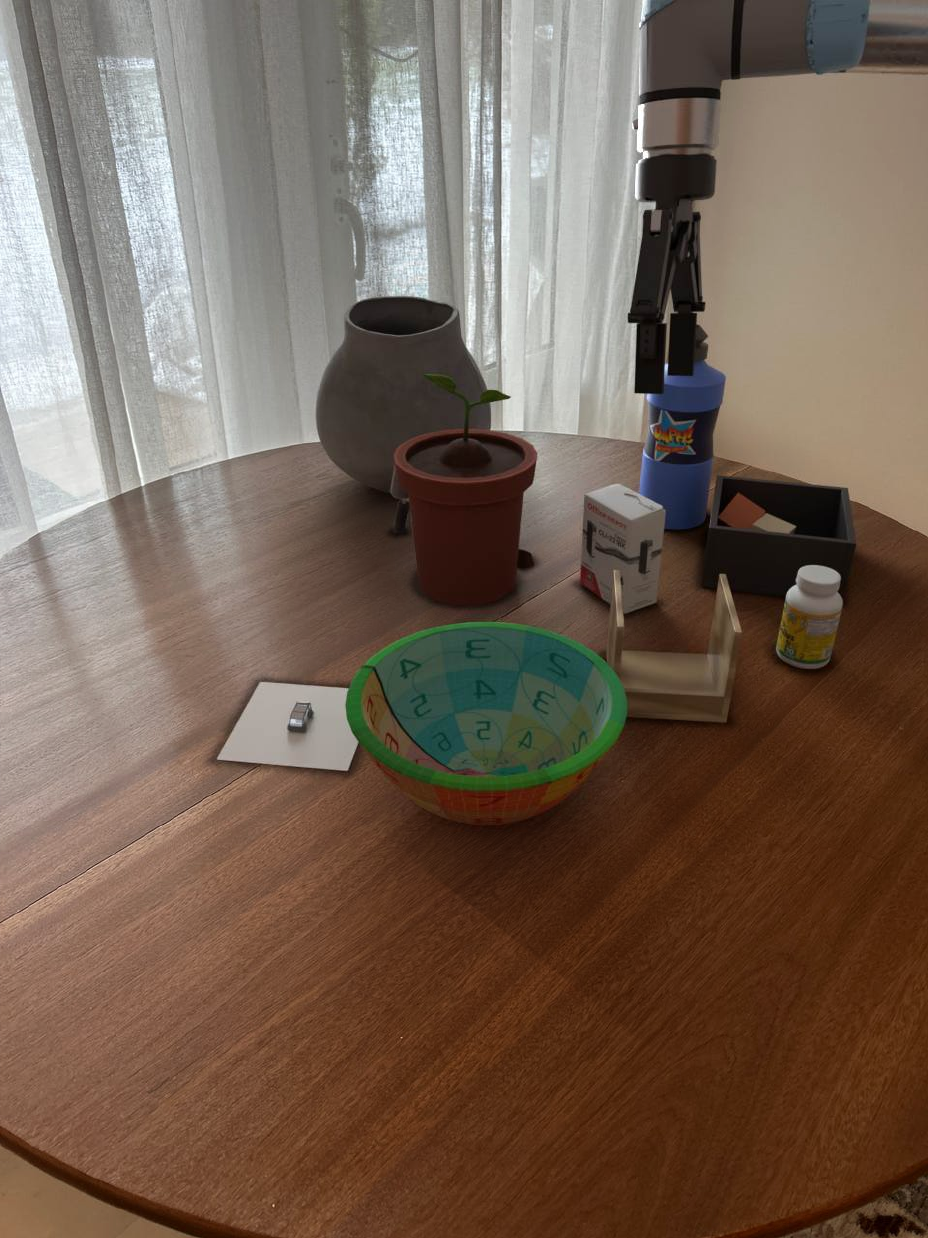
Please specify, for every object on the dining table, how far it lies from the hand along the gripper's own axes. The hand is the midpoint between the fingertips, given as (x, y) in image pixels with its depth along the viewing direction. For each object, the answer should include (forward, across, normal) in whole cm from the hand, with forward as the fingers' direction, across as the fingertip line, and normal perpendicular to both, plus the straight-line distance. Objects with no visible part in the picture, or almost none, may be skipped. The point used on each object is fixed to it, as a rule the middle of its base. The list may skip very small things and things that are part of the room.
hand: (665, 384), depth 96 cm
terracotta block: (+20, -16, +5) cm, 26 cm away
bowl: (+29, +36, -6) cm, 46 cm away
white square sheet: (+27, +35, -25) cm, 51 cm away
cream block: (+22, -15, +10) cm, 28 cm away
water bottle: (+21, -24, -4) cm, 32 cm away
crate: (+27, +15, +5) cm, 31 cm away
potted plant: (+22, +2, -24) cm, 33 cm away
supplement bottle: (+27, +4, +16) cm, 32 cm away
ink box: (+24, 0, -5) cm, 24 cm away
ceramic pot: (+18, -19, -42) cm, 49 cm away
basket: (+23, -15, +10) cm, 29 cm away
